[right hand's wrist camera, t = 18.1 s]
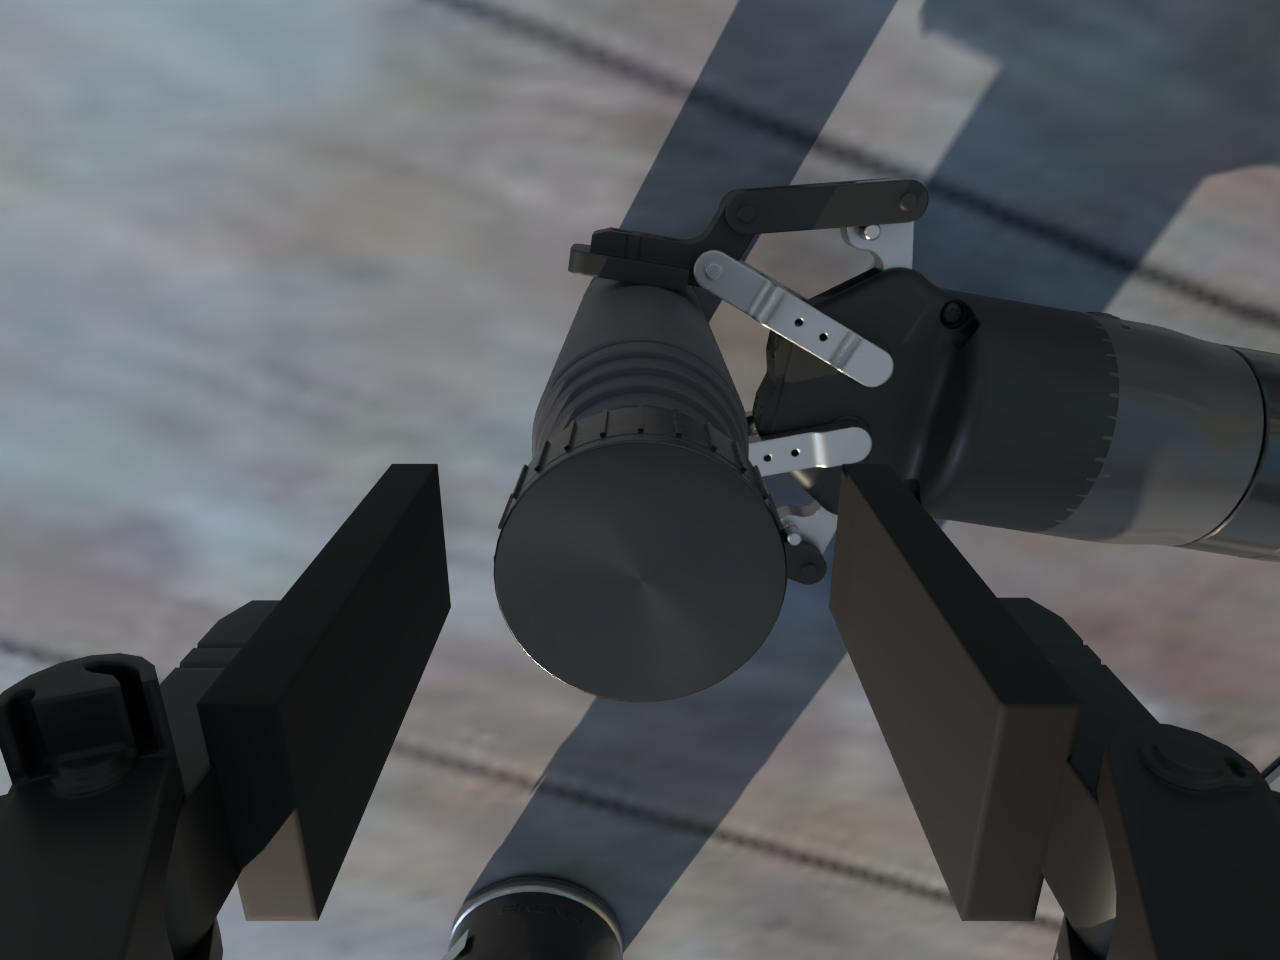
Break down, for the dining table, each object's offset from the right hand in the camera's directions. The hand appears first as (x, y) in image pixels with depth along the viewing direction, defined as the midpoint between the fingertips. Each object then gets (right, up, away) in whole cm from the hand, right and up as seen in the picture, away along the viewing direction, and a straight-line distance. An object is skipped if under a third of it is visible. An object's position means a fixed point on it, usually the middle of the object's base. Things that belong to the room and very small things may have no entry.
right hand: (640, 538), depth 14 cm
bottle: (0, +7, +19) cm, 21 cm away
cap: (0, 0, -1) cm, 1 cm away
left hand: (-3, +5, +13) cm, 14 cm away
